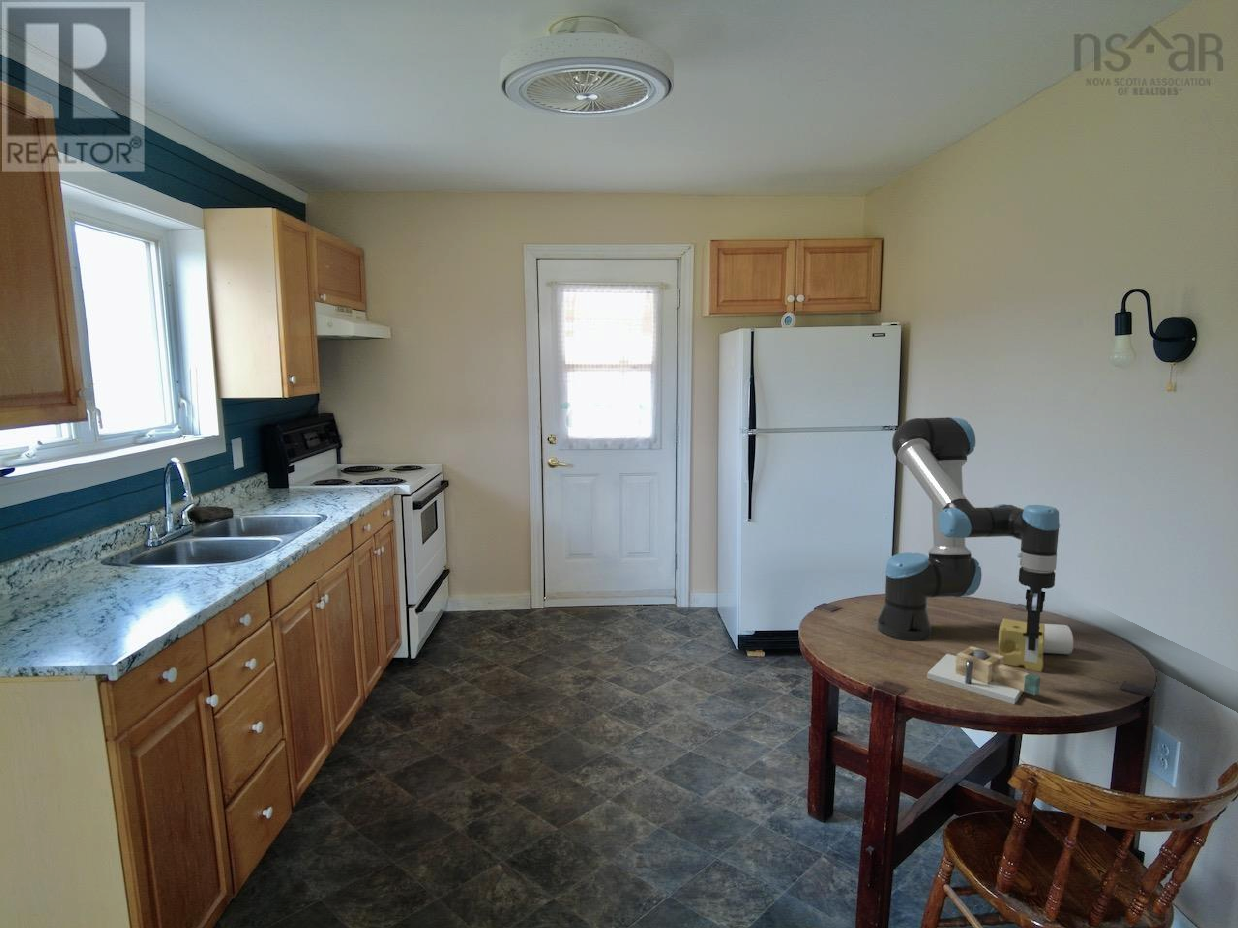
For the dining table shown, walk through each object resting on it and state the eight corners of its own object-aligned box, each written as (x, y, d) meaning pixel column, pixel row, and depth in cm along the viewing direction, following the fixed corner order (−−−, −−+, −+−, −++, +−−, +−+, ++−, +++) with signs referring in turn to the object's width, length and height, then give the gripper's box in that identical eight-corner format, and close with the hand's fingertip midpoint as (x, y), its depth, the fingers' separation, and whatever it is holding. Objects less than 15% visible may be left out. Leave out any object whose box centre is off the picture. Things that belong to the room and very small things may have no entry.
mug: (1072, 659, 183) (1074, 631, 182) (1032, 656, 185) (1034, 629, 184) (1053, 641, 195) (1056, 615, 194) (1016, 639, 197) (1018, 613, 196)
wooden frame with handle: (955, 672, 172) (956, 654, 172) (970, 663, 177) (971, 646, 176) (1029, 699, 159) (1031, 679, 158) (1043, 689, 163) (1045, 669, 163)
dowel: (964, 683, 167) (965, 662, 166) (966, 681, 168) (967, 660, 167) (970, 684, 166) (972, 663, 165) (972, 682, 167) (973, 662, 166)
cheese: (1042, 673, 175) (1045, 636, 174) (995, 663, 181) (998, 628, 180) (1042, 658, 184) (1045, 623, 183) (997, 649, 190) (1000, 615, 188)
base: (926, 678, 173) (928, 650, 172) (946, 658, 184) (948, 632, 183) (1014, 704, 159) (1016, 674, 158) (1029, 681, 171) (1032, 653, 169)
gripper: (1021, 560, 171) (1015, 648, 174) (1017, 573, 160) (1011, 666, 163) (1056, 564, 167) (1049, 655, 170) (1055, 578, 156) (1047, 674, 159)
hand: (1030, 660), depth 167 cm, fingers closed
